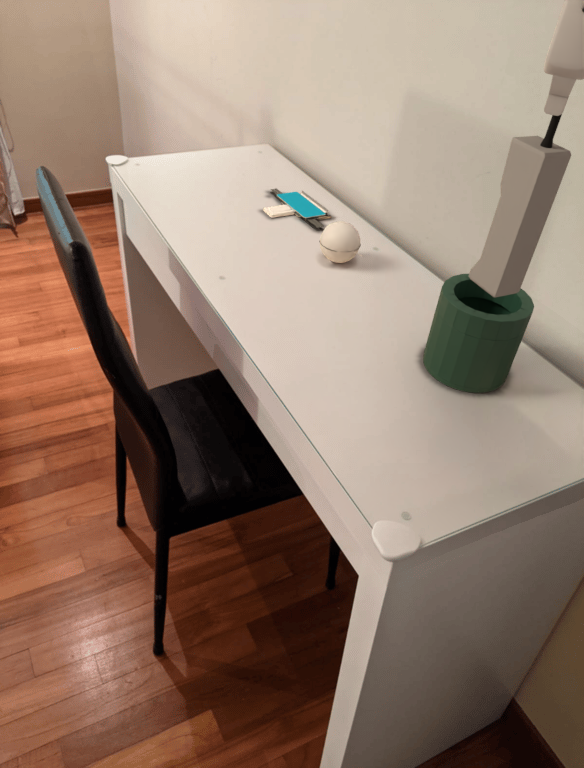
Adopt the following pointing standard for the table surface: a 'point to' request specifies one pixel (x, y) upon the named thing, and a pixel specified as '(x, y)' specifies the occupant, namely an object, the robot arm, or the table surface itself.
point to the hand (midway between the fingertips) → (553, 110)
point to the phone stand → (298, 208)
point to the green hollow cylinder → (475, 335)
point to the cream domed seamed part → (340, 242)
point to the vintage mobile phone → (521, 211)
